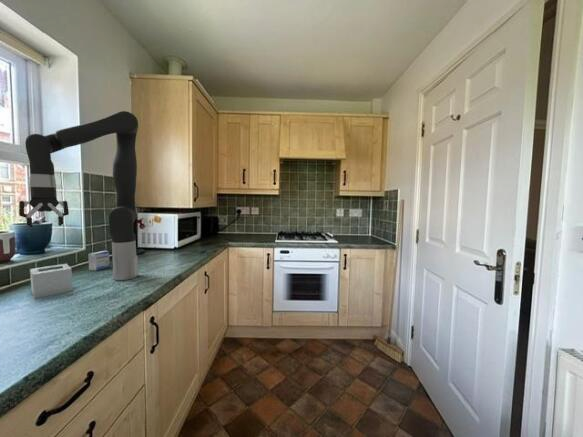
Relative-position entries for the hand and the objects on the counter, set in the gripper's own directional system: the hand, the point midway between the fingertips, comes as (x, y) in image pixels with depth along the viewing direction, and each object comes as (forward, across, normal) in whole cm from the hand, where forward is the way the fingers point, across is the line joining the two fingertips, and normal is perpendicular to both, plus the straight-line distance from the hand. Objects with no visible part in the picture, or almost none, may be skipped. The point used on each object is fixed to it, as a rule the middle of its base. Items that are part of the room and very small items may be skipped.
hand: (45, 226), depth 103 cm
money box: (+25, 0, +5) cm, 26 cm away
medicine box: (+26, -21, -19) cm, 38 cm away
